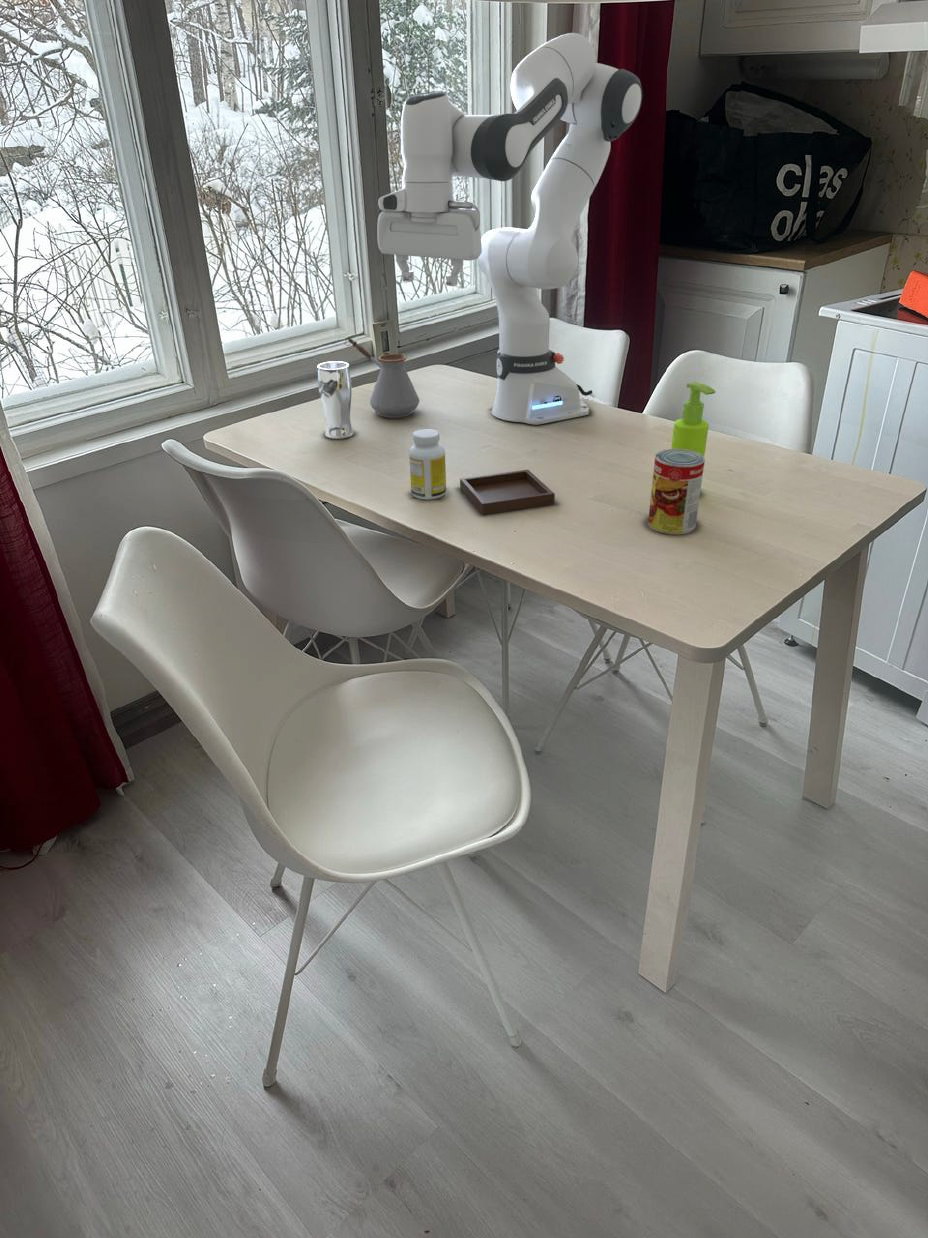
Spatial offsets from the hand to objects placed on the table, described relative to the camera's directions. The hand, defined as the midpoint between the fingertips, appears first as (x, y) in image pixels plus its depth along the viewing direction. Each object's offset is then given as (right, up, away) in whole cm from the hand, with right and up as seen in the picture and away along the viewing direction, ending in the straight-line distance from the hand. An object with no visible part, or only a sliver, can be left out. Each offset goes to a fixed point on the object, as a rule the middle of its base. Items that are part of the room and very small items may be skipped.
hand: (429, 283), depth 158 cm
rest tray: (+14, -39, -1) cm, 42 cm away
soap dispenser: (+47, -39, -1) cm, 61 cm away
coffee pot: (-13, -12, +46) cm, 49 cm away
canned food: (+41, -46, -12) cm, 63 cm away
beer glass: (-21, -22, +30) cm, 42 cm away
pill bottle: (0, -39, +1) cm, 39 cm away
